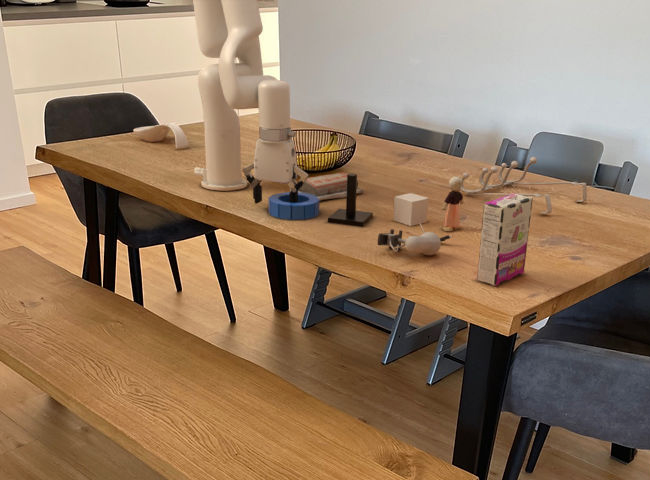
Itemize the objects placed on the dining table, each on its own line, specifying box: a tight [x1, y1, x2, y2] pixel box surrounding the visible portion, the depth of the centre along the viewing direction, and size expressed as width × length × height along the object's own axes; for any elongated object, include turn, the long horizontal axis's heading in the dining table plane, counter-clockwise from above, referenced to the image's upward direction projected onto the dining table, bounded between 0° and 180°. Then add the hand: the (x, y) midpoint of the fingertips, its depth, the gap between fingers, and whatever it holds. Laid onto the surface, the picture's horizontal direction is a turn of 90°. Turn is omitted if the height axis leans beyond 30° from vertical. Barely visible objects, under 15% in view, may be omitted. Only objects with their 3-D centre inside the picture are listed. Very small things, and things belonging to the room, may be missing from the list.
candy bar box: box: [476, 192, 534, 287], centre depth 167 cm, size 11×5×16 cm, turn 138°
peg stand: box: [327, 172, 374, 228], centre depth 201 cm, size 9×9×11 cm
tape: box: [267, 191, 320, 221], centre depth 206 cm, size 12×12×4 cm
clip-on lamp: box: [377, 223, 454, 256], centre depth 183 cm, size 12×6×18 cm
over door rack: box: [460, 156, 588, 215], centre depth 226 cm, size 22×29×10 cm
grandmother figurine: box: [441, 175, 465, 232], centre depth 197 cm, size 8×4×13 cm, turn 148°
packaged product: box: [289, 172, 364, 202], centre depth 223 cm, size 18×5×10 cm
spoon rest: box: [132, 121, 189, 150], centre depth 272 cm, size 24×12×7 cm, turn 47°
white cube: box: [392, 192, 430, 227], centre depth 203 cm, size 6×6×6 cm
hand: (275, 204), depth 207 cm, fingers open, 9 cm apart
